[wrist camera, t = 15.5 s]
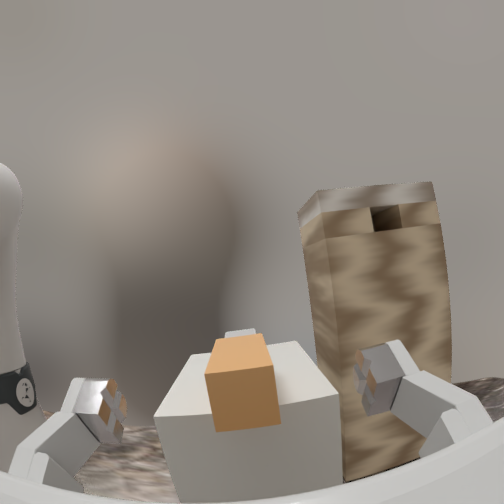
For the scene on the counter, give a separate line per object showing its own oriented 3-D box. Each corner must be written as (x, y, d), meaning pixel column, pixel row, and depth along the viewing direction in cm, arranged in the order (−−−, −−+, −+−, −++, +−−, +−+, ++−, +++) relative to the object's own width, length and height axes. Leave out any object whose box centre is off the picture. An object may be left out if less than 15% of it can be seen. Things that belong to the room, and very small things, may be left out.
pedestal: (210, 571, 14) (153, 416, 15) (219, 480, 28) (191, 354, 29) (341, 554, 14) (338, 393, 15) (309, 468, 28) (296, 340, 29)
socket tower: (345, 481, 24) (317, 190, 26) (323, 439, 34) (297, 212, 36) (445, 445, 25) (431, 181, 27) (407, 415, 35) (389, 202, 36)
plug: (215, 432, 13) (204, 374, 13) (226, 359, 26) (221, 325, 26) (281, 424, 13) (273, 364, 13) (262, 355, 26) (257, 320, 26)
